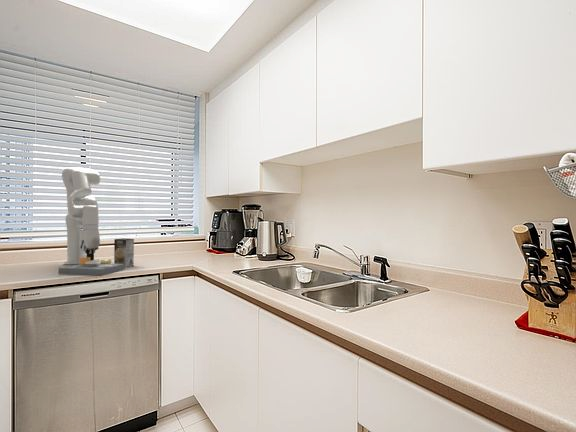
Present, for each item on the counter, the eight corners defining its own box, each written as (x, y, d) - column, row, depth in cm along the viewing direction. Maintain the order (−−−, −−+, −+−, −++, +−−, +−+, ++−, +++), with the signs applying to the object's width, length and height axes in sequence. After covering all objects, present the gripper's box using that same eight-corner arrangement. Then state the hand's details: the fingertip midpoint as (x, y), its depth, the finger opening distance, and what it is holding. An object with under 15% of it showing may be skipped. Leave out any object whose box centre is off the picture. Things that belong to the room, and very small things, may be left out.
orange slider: (84, 263, 170) (84, 257, 170) (90, 263, 169) (90, 257, 169) (79, 264, 167) (79, 257, 167) (86, 264, 166) (86, 258, 166)
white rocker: (91, 263, 167) (91, 260, 167) (99, 261, 166) (99, 259, 166) (85, 264, 163) (85, 261, 163) (93, 262, 162) (93, 260, 162)
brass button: (105, 262, 166) (105, 259, 166) (113, 262, 165) (113, 259, 165) (98, 264, 161) (98, 260, 161) (106, 264, 160) (106, 260, 160)
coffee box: (113, 266, 182) (113, 238, 182) (122, 264, 188) (122, 238, 188) (125, 267, 179) (125, 239, 179) (134, 265, 185) (134, 238, 185)
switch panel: (86, 268, 175) (86, 261, 175) (125, 269, 171) (125, 262, 171) (58, 273, 157) (58, 266, 157) (100, 275, 154) (100, 268, 154)
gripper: (94, 227, 180) (94, 258, 180) (73, 228, 165) (73, 262, 165) (106, 227, 179) (106, 259, 179) (85, 228, 164) (85, 262, 164)
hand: (90, 260), depth 172 cm, fingers closed
